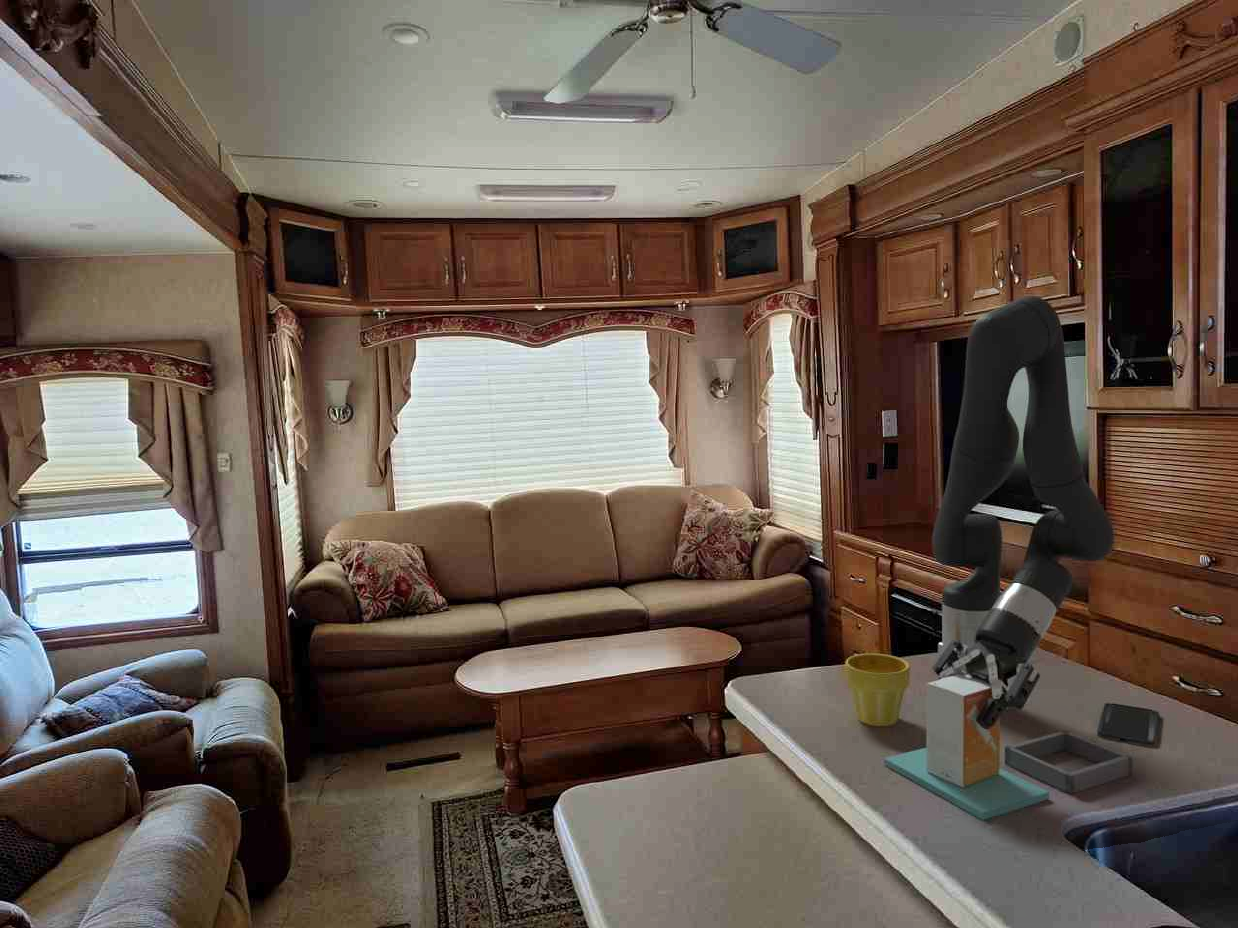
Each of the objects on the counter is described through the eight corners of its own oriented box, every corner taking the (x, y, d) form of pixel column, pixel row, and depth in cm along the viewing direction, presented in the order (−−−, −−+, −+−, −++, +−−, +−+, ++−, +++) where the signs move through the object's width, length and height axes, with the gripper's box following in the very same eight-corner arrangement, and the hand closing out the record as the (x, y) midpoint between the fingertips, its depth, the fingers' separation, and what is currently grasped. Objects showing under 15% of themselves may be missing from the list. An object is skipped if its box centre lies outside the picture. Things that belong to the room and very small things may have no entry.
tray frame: (1004, 763, 120) (1004, 746, 120) (1064, 746, 125) (1064, 730, 125) (1070, 793, 111) (1070, 775, 110) (1131, 774, 116) (1132, 757, 115)
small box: (963, 789, 111) (963, 695, 110) (925, 771, 116) (924, 682, 115) (1001, 774, 115) (1001, 683, 114) (962, 757, 120) (962, 671, 119)
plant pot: (916, 731, 132) (916, 672, 132) (851, 730, 134) (850, 672, 133) (902, 707, 143) (902, 652, 142) (841, 707, 144) (840, 652, 143)
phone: (1159, 710, 136) (1155, 742, 124) (1159, 717, 136) (1155, 750, 124) (1104, 701, 141) (1095, 731, 128) (1104, 708, 141) (1095, 738, 128)
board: (884, 764, 121) (884, 758, 121) (945, 748, 126) (945, 742, 126) (982, 820, 105) (982, 812, 105) (1048, 799, 109) (1048, 791, 109)
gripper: (963, 596, 123) (905, 684, 119) (1047, 618, 110) (984, 717, 106) (989, 626, 126) (932, 712, 122) (1074, 651, 113) (1013, 748, 109)
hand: (956, 714), depth 114 cm, fingers open, 8 cm apart
